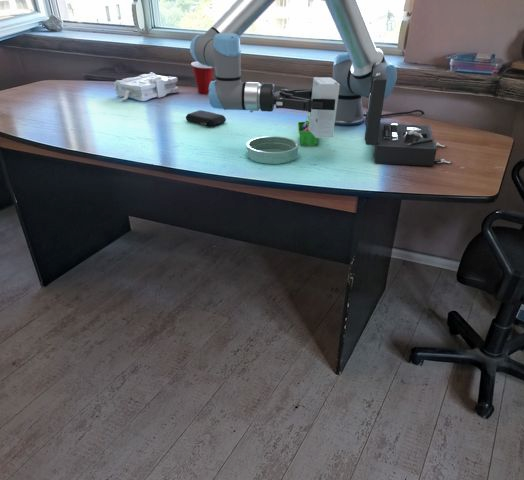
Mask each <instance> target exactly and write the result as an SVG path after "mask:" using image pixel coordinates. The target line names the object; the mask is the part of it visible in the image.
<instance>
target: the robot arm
mask: <svg viewBox="0 0 524 480" xmlns="http://www.w3.org/2000/svg"><path fill="white" fill-rule="evenodd" d="M275 1H276V0H236V1H235V2H234V3H233V4H232V5H231V6H230V7H229V8H228V9H227V10H226V11H225V12H224V13H223V14H222V15H221V16H220V18H219V19H218V20H217V21H215V22H214V23H213V25H212V26H211V27H210V28H209V29H208V30H207V31H206V32H205V33H204V34H202V33H201V34H197V35H195V36H194V37H193V38H192V39H191V41H190V45H189V46H190V47H189V51H190V55H191V57H192V59H193V60H194V61H195V62H196V61H197V62H199V63H200V64H202V65H207V66H210V67H213V68H214V71H215V72H214V73H215V79H214V80H212V81H211V82H210V84H209V94H208V102H209V105H210V107H212V108H213V109H219V110H224V111H228V110H231V111H233V110H234V111H249V113H254V111H255V112H259V111H261V112H268V113H269V112H274V109H286V110H295V111H302V112H308V113H310V112H311V108H312V109H317V110H335V99H316V98H313V99H312V100H311V98H312V89H313V87H311V88H284V87H283V88H281V89H280V90H277V91H276V87H275V84H274V83H272V82H262V83H260V82H257V81H255V82H254V81H253V82H252V81H242V59H241V58H242V48H241V38H240V37H241V36H242V35H243V34H244V33H245V32H246V31H247V30H248V29H249V28H250V27H251V26H252V25H253V24H254V23H255V22H256V21H257V20H258V19H259V18H260V17H261V16H262V15H263V14H264V13H265V12H266V11H267V10H268V8H270V6H271V5H273V3H274V2H275ZM322 1H324V2H325V4H326V7H327V9H328V11H329V14H330V16H331V18H332V21H333V22H334V25H335V27H336V30H337V32H338V34H339V36H340V39H341V41H342V43H343V46H344V48H345V49H346V52H340V53H337V54H336V55H335V56H334V59H333V65H332V77H331V78H332V79H333V80H336V82H337V83H338V84H340V87H339V95H338V102H337V110H336V117H335V125H337V126H356V125H359V124H362V123H363V122H364V119H365V118H364V117H366V113H364V109H363V108H364V107H363V103H362V102H363V101H362V98H363V97H364V98H366V99H368V98H369V90H370V83H371V82H370V77H371V69H372V65H373V64H374V63H376V62H379V63H385V68H386V77H387V82H386V88H385V95H384V100H385V99H386V98H388V97H389V96H390V95H391V93H392V92H393V91H394V88H395V86H396V83H397V79H398V69H397V68H396V66H395V65H394V64H392V63H391V62H387V60H386V57H385V55H384V52H383V50H382V49H380V48H378V47H376V45H375V42H374V40H373V36H372V34H371V31H370V30H369V27H368V23H367V22H366V19H365V16H364V14H363V13H364V12H363V11H362V9H361V6H360V3H359V0H322ZM418 112H419V113H421V114H422V115H425V112H424V111H423V110H422V109H413V110H410V111H400V112H390V113H382V115H381V118H382V117H388V116H398V115H408V114H409V115H410V114H413V113H418Z"/></svg>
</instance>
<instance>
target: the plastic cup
mask: <svg viewBox="0 0 524 480" xmlns="http://www.w3.org/2000/svg"><path fill="white" fill-rule="evenodd" d="M190 65H191V67H192V70H193V73H194V74H193V75H194V80H195V84H196V89H197V92H198V93H199V95H200V94H201V95H209V84H210V82H211V81H213V78H214V77H213V75H214V71H215V68H213V67H210V66H207V65H202V64H200V63H199V62H197V61H196V60H195V61H192V62H191V64H190Z"/></svg>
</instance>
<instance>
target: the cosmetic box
mask: <svg viewBox="0 0 524 480" xmlns="http://www.w3.org/2000/svg"><path fill="white" fill-rule="evenodd" d="M339 87H340V84H338V83H337V82H336V80H333V79H332V77H329V76H328V77H326V76H325V77H316V76H315V77H313V80H312V88H313V89H312V98H311V100H312V99H313V98H316V99H335V110H317V109H312V108H311V112H309V114H310V118H309V119H308V121H309V127H308V130H309V131H310V132H311V133H312V134H313V135H314V136H315V137H316V138H318V139H320V138H333V137H334V133H335V125H336V124H335V117H336V110H337V102H338V95H339Z"/></svg>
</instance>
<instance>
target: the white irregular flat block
mask: <svg viewBox="0 0 524 480" xmlns="http://www.w3.org/2000/svg"><path fill="white" fill-rule="evenodd" d="M178 82H179V81H178V77H177V76H165V75H160V74H156V73H155V72H151V71H150V72H149V73H143V74H139V75H138V76H134V77H126V78H122V79H121V80H119V79H116V80H115V81H114V84H113V88H114V91H115V94H116V95H117V96H118V97H119V100H121V101H125V100H127V99H128V98H129V99H134V100H136V101H140V102H146V101H149V100H151V99H153V98H157V99H158V98H162V97H166V96H167V95H169V94H174V93H178V92H179V87H178V86H176V85H177V83H178Z"/></svg>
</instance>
